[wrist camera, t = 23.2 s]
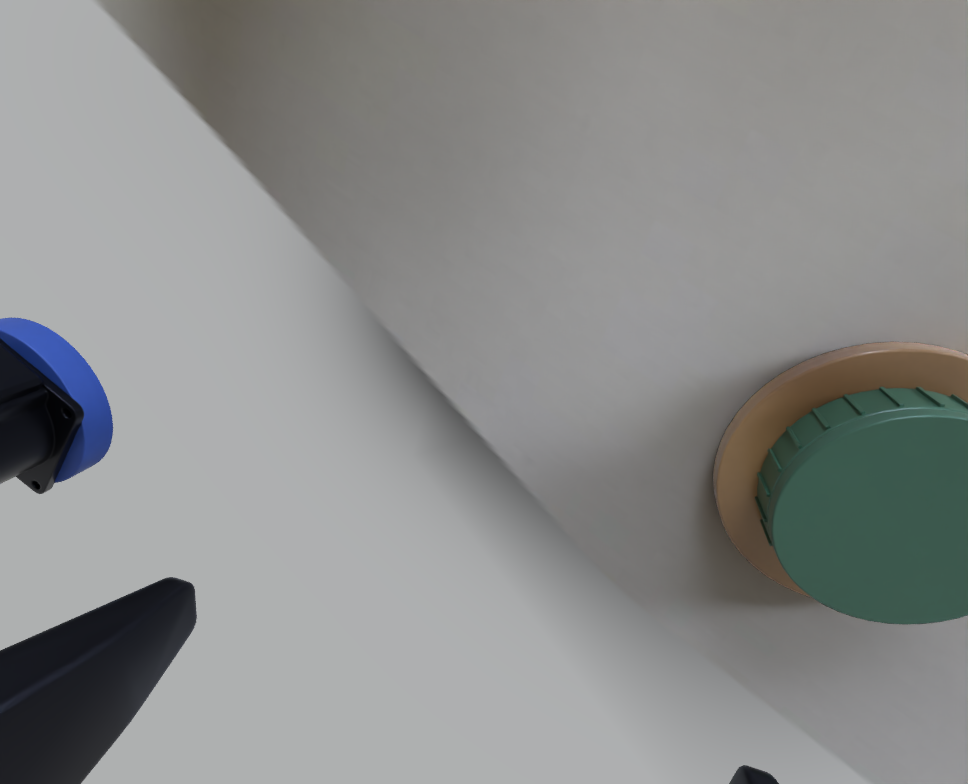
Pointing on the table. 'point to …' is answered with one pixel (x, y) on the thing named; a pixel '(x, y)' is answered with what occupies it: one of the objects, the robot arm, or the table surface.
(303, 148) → the table surface
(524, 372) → the table surface
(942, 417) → the jar lid
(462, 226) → the table surface
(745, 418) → the coaster
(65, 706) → the robot arm
